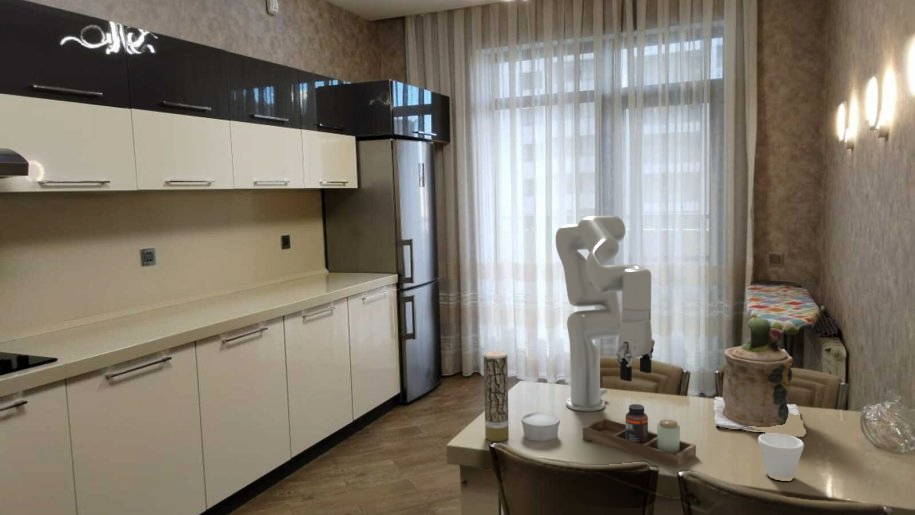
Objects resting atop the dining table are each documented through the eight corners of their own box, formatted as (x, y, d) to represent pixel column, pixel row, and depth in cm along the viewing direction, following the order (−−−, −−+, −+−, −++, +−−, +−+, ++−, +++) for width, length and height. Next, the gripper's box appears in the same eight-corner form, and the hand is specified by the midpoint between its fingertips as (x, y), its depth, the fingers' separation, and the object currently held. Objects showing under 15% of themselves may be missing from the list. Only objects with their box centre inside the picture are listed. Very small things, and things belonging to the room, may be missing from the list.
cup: (766, 464, 164) (767, 429, 163) (809, 476, 157) (810, 439, 156) (750, 477, 157) (751, 440, 156) (793, 490, 150) (795, 452, 149)
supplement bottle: (648, 443, 178) (648, 403, 176) (647, 451, 172) (648, 411, 171) (626, 441, 179) (626, 401, 178) (624, 449, 174) (624, 409, 173)
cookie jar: (713, 429, 188) (715, 322, 185) (713, 403, 211) (714, 307, 207) (808, 439, 179) (812, 327, 175) (797, 410, 202) (800, 310, 198)
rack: (603, 430, 190) (603, 418, 189) (695, 458, 169) (695, 445, 168) (582, 439, 183) (582, 427, 182) (676, 470, 162) (676, 456, 161)
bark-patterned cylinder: (507, 443, 182) (505, 357, 179) (483, 441, 183) (481, 356, 180) (510, 434, 188) (508, 350, 186) (487, 432, 190) (485, 350, 187)
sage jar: (664, 450, 173) (664, 417, 172) (683, 456, 169) (683, 422, 168) (653, 456, 169) (653, 422, 168) (672, 462, 165) (673, 428, 164)
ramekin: (529, 426, 194) (528, 409, 193) (564, 432, 189) (564, 414, 188) (515, 440, 184) (515, 422, 183) (553, 446, 179) (553, 427, 178)
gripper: (641, 307, 180) (640, 367, 182) (606, 317, 169) (605, 380, 171) (665, 311, 175) (664, 372, 177) (631, 321, 163) (630, 386, 165)
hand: (635, 376), depth 174 cm, fingers open, 9 cm apart
